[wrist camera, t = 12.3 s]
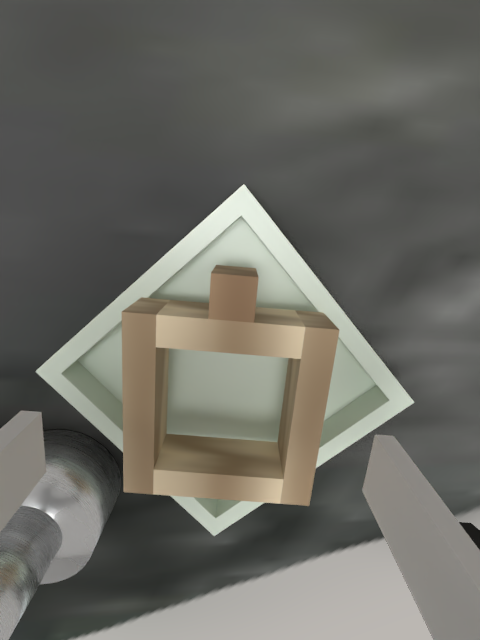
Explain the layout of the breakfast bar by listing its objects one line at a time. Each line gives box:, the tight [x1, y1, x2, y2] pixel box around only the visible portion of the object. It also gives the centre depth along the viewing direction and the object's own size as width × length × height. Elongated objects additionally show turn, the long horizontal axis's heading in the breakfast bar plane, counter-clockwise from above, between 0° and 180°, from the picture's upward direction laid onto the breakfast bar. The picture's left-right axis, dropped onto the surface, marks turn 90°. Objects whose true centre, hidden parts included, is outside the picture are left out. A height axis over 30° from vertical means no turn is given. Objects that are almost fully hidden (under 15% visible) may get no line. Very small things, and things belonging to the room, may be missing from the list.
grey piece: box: [0, 430, 121, 640], centre depth 18 cm, size 8×8×12 cm
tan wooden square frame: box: [121, 265, 339, 506], centre depth 17 cm, size 10×12×3 cm
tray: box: [35, 184, 414, 536], centre depth 20 cm, size 15×15×2 cm
